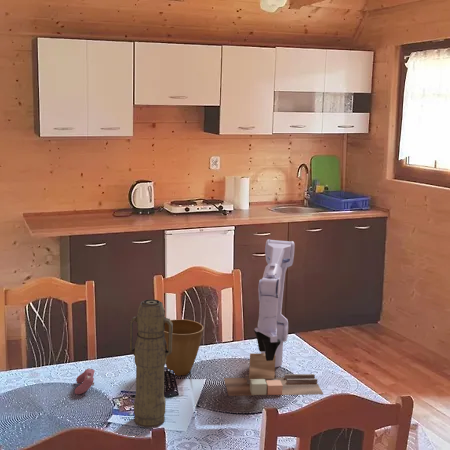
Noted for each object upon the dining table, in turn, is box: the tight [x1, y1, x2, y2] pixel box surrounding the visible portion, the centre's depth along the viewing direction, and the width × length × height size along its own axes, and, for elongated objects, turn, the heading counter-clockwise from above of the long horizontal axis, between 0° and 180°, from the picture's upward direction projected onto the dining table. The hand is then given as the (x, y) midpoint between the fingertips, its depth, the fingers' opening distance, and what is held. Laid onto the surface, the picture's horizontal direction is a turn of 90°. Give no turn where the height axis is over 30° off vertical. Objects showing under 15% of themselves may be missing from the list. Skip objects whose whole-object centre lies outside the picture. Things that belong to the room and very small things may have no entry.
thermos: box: [129, 298, 173, 429], centre depth 182 cm, size 9×12×35 cm
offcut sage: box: [250, 379, 267, 396], centre depth 203 cm, size 4×5×4 cm
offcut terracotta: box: [266, 380, 283, 396], centre depth 204 cm, size 4×5×3 cm
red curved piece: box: [74, 367, 96, 395], centre depth 203 cm, size 10×5×7 cm, turn 10°
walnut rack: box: [223, 373, 324, 397], centre depth 208 cm, size 13×30×2 cm, turn 96°
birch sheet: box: [248, 352, 276, 379], centre depth 211 cm, size 2×8×9 cm, turn 96°
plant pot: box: [164, 318, 204, 377], centre depth 218 cm, size 15×15×16 cm
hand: (265, 355), depth 209 cm, fingers open, 7 cm apart
